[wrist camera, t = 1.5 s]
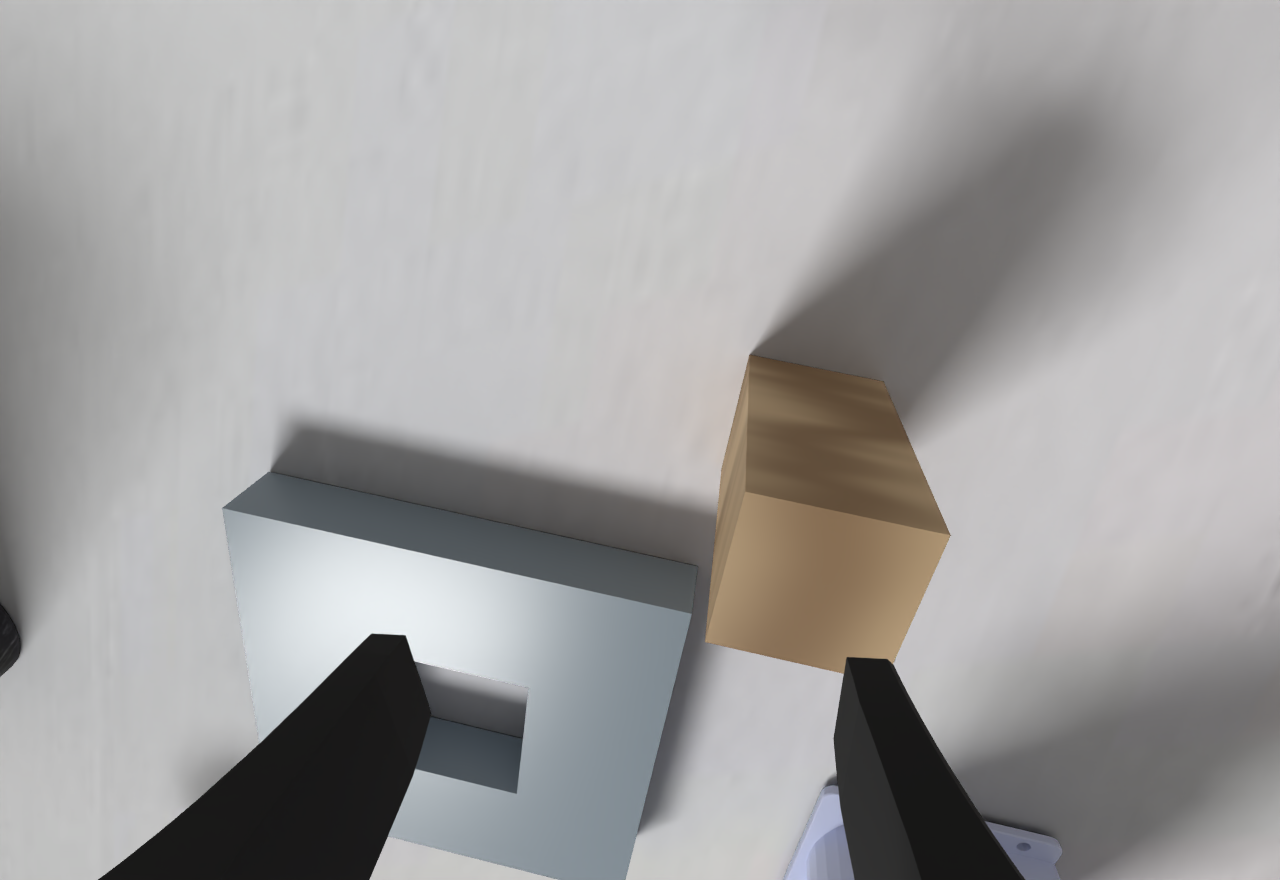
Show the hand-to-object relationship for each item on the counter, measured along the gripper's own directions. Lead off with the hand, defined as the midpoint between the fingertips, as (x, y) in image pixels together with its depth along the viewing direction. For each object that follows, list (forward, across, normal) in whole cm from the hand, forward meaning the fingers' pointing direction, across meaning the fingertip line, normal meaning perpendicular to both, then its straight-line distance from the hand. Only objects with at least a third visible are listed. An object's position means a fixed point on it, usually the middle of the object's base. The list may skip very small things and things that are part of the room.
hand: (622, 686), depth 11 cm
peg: (+11, -4, +2) cm, 12 cm away
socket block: (+11, +9, +14) cm, 19 cm away
